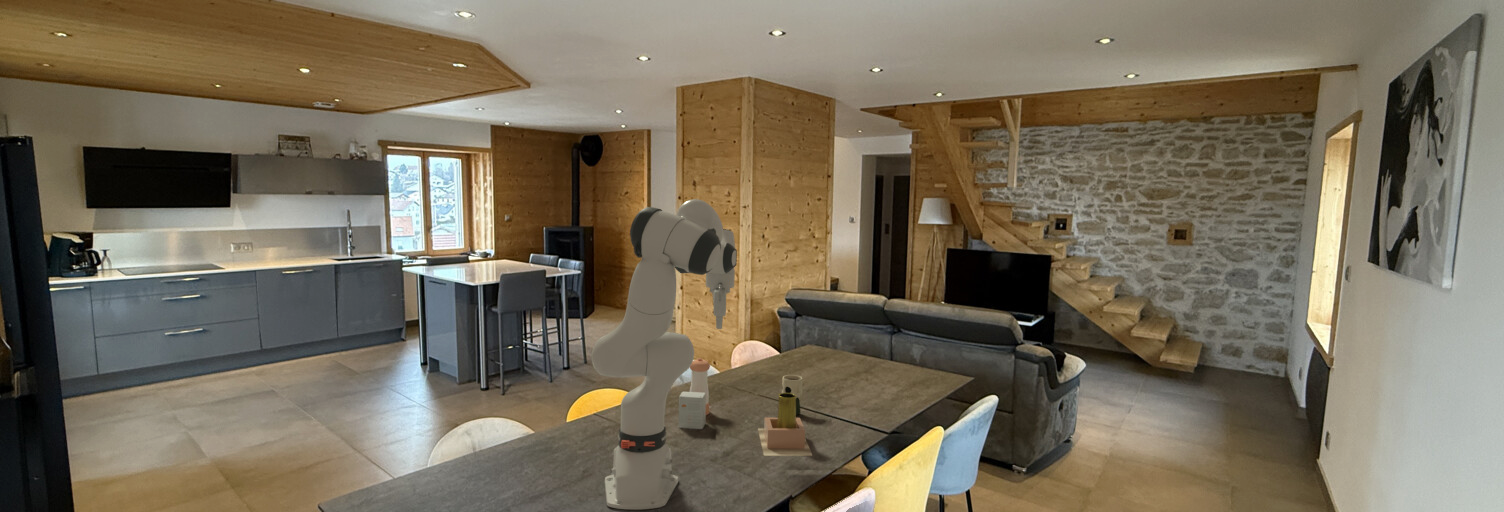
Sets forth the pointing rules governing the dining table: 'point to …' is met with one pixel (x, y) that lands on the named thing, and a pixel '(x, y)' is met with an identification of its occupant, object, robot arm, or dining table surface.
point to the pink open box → (783, 434)
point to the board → (783, 449)
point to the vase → (787, 411)
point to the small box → (692, 410)
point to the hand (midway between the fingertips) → (718, 325)
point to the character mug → (793, 388)
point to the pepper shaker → (700, 378)
